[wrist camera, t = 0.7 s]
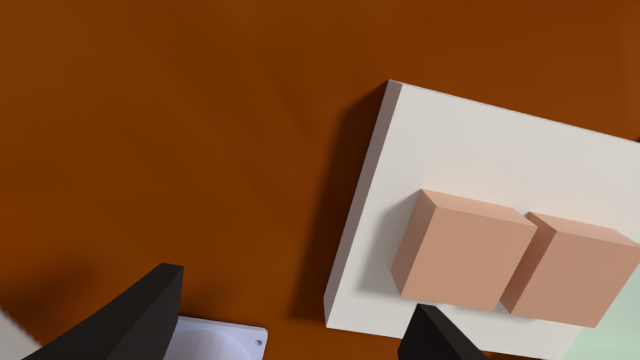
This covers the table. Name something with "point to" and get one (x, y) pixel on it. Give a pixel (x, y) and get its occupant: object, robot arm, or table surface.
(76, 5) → the table surface
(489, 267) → the tile
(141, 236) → the table surface
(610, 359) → the box
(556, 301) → the tile
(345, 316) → the board
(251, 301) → the table surface
